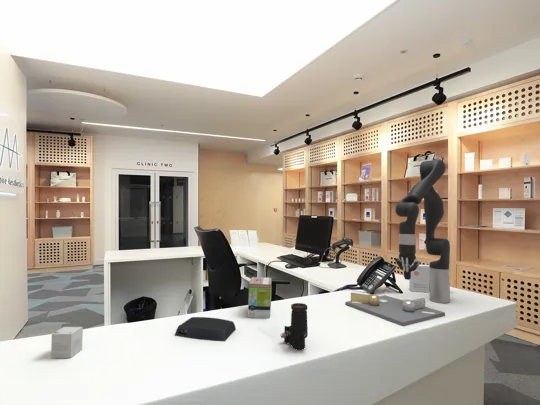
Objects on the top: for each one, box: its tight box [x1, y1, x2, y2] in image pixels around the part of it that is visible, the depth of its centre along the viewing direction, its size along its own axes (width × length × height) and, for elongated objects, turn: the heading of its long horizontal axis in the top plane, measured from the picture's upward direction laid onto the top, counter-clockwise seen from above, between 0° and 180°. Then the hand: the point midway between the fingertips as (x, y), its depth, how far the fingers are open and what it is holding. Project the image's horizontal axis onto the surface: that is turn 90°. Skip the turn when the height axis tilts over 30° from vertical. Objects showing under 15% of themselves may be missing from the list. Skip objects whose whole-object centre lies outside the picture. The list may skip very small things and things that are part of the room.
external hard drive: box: [174, 316, 237, 342], centre depth 113 cm, size 13×19×4 cm
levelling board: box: [344, 294, 446, 327], centre depth 144 cm, size 29×33×2 cm
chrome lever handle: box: [402, 297, 426, 312], centre depth 140 cm, size 14×5×4 cm, turn 119°
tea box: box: [247, 276, 273, 319], centre depth 137 cm, size 15×10×15 cm
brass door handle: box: [350, 292, 380, 306], centre depth 149 cm, size 14×5×4 cm, turn 61°
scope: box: [280, 302, 309, 351], centre depth 102 cm, size 8×14×10 cm
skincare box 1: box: [50, 326, 84, 359], centre depth 94 cm, size 6×6×7 cm
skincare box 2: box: [408, 264, 430, 293], centre depth 181 cm, size 21×6×16 cm, turn 81°
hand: (407, 279), depth 146 cm, fingers closed
